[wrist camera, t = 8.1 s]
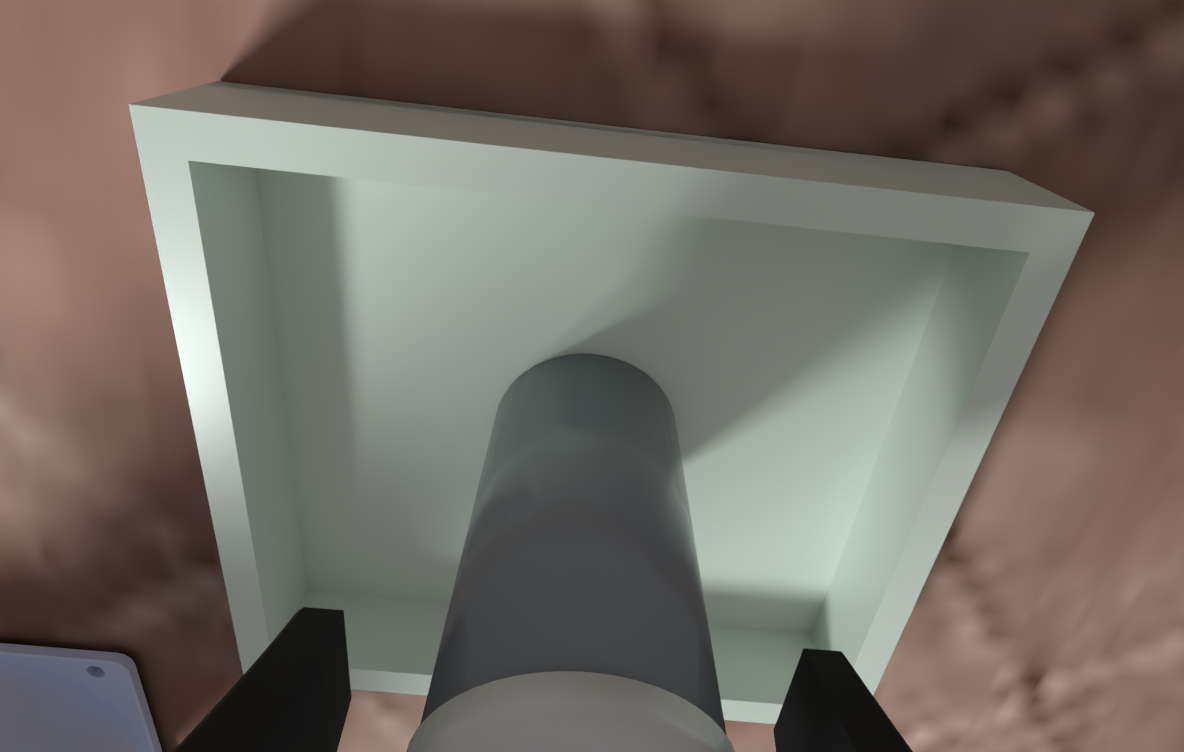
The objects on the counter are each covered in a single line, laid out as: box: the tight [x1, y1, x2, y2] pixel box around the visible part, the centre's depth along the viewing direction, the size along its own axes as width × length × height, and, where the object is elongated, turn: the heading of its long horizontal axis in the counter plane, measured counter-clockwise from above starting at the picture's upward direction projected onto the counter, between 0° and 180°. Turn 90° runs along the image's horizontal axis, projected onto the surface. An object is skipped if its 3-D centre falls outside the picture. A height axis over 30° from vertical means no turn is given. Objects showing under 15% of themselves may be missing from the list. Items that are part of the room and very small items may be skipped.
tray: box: [129, 81, 1095, 724], centre depth 16 cm, size 16×14×3 cm
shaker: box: [407, 354, 735, 752], centre depth 13 cm, size 5×5×10 cm
